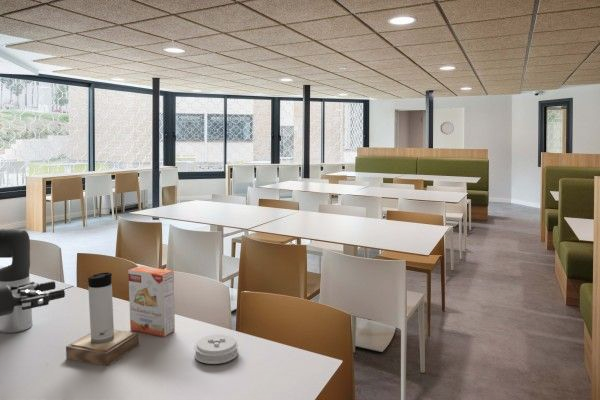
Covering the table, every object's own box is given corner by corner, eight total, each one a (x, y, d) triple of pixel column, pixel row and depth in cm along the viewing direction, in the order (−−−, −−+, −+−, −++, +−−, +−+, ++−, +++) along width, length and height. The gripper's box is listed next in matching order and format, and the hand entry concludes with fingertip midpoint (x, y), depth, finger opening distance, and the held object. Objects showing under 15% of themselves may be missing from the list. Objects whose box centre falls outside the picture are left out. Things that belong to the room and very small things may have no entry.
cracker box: (129, 330, 148) (127, 269, 145) (142, 324, 153) (140, 264, 150) (163, 338, 142) (162, 274, 140) (175, 331, 148) (174, 269, 145)
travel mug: (106, 344, 128) (103, 277, 126) (86, 342, 130) (82, 275, 127) (119, 335, 134) (116, 271, 132) (99, 333, 136) (96, 269, 133)
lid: (245, 350, 135) (245, 334, 135) (225, 370, 123) (225, 353, 123) (209, 343, 139) (208, 328, 139) (185, 362, 128) (185, 345, 127)
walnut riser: (66, 358, 128) (65, 345, 128) (100, 338, 142) (100, 326, 141) (107, 365, 124) (106, 352, 124) (138, 344, 138) (138, 332, 137)
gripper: (-7, 297, 106) (67, 282, 117) (-18, 281, 116) (51, 269, 127) (-5, 326, 107) (68, 309, 118) (-16, 309, 117) (52, 294, 128)
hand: (59, 288), depth 123 cm, fingers open, 8 cm apart
